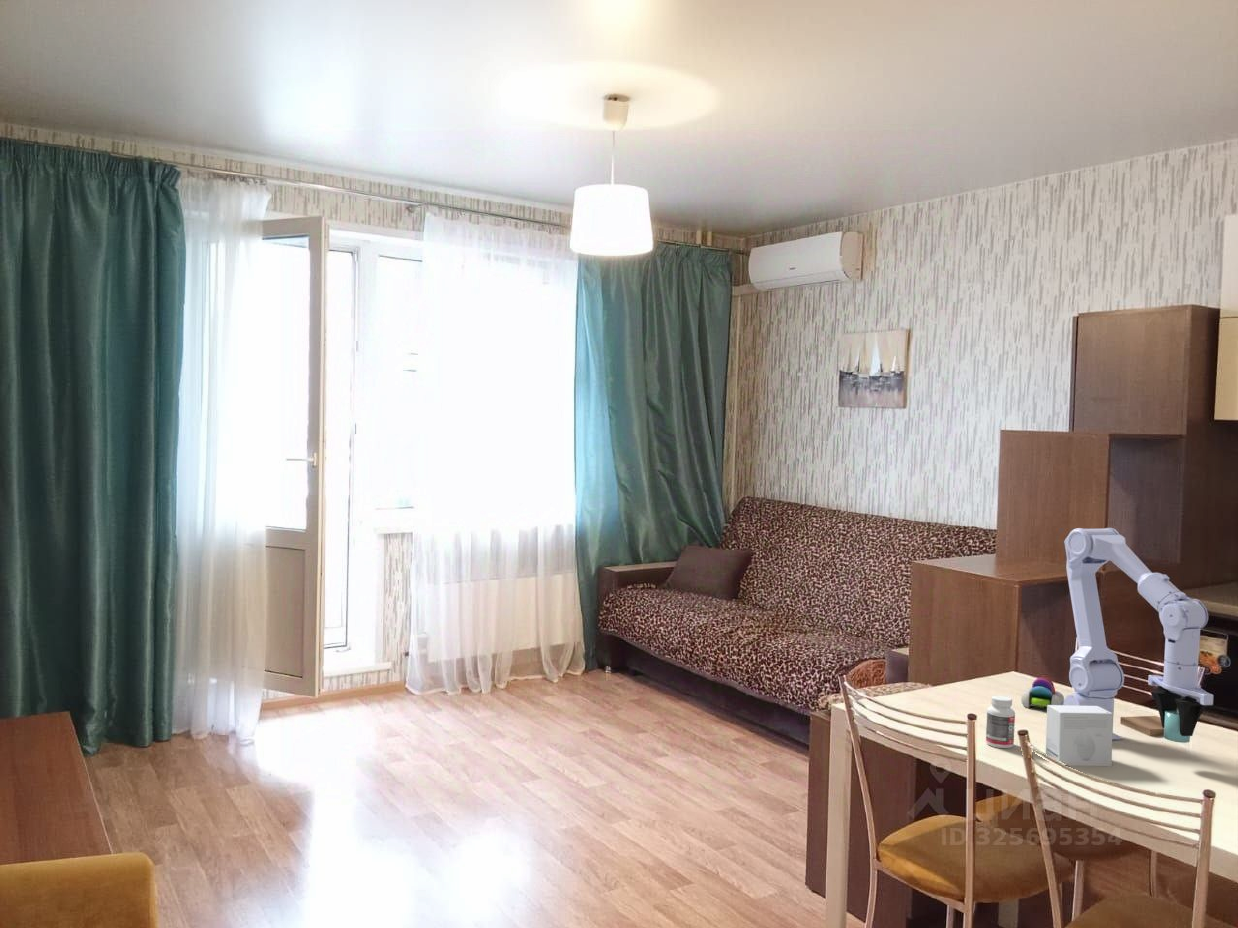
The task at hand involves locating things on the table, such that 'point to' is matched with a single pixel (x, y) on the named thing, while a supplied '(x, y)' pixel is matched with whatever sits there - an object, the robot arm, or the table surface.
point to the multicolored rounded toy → (1042, 694)
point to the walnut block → (1144, 724)
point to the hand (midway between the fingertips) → (1177, 731)
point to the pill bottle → (1000, 723)
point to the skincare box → (1079, 735)
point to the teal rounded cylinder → (1173, 727)
